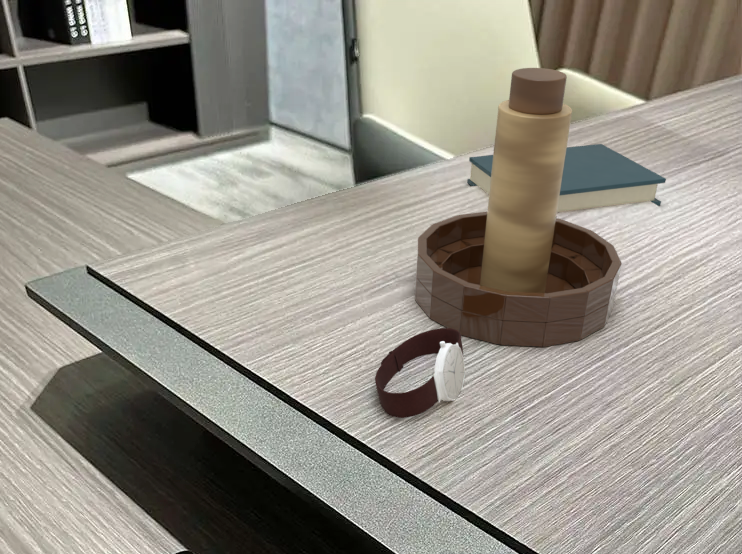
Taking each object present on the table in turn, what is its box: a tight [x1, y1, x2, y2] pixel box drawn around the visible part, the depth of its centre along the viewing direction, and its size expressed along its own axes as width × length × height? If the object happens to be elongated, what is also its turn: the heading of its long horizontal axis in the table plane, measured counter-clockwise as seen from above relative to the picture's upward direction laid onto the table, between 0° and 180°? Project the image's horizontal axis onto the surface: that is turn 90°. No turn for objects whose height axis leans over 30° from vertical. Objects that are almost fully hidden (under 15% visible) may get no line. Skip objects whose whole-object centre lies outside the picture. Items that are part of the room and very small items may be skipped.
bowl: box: [414, 211, 623, 348], centre depth 55 cm, size 13×13×4 cm
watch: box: [374, 327, 466, 419], centre depth 46 cm, size 8×5×4 cm, turn 153°
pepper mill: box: [480, 67, 573, 293], centre depth 52 cm, size 4×4×15 cm
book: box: [466, 143, 667, 213], centre depth 73 cm, size 14×10×2 cm
